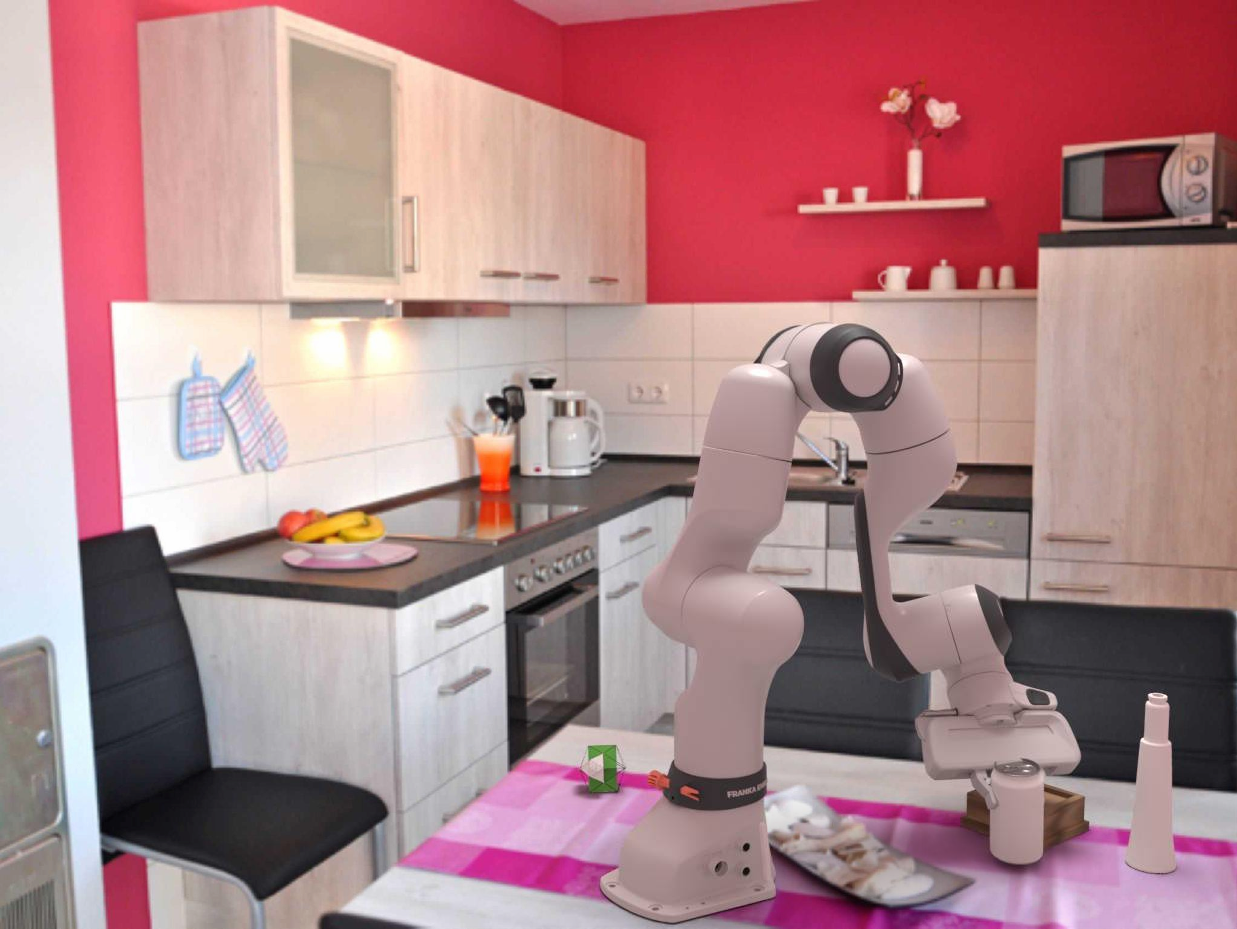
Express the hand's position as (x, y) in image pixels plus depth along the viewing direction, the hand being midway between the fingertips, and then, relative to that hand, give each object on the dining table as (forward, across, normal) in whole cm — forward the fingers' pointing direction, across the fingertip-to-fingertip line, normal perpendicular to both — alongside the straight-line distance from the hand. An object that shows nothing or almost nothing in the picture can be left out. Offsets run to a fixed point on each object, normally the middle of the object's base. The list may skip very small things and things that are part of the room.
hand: (1017, 806), depth 165 cm
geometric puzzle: (-19, -47, +31) cm, 60 cm away
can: (+4, +1, +6) cm, 7 cm away
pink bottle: (+7, +17, +4) cm, 19 cm away
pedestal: (-3, +7, +14) cm, 15 cm away
